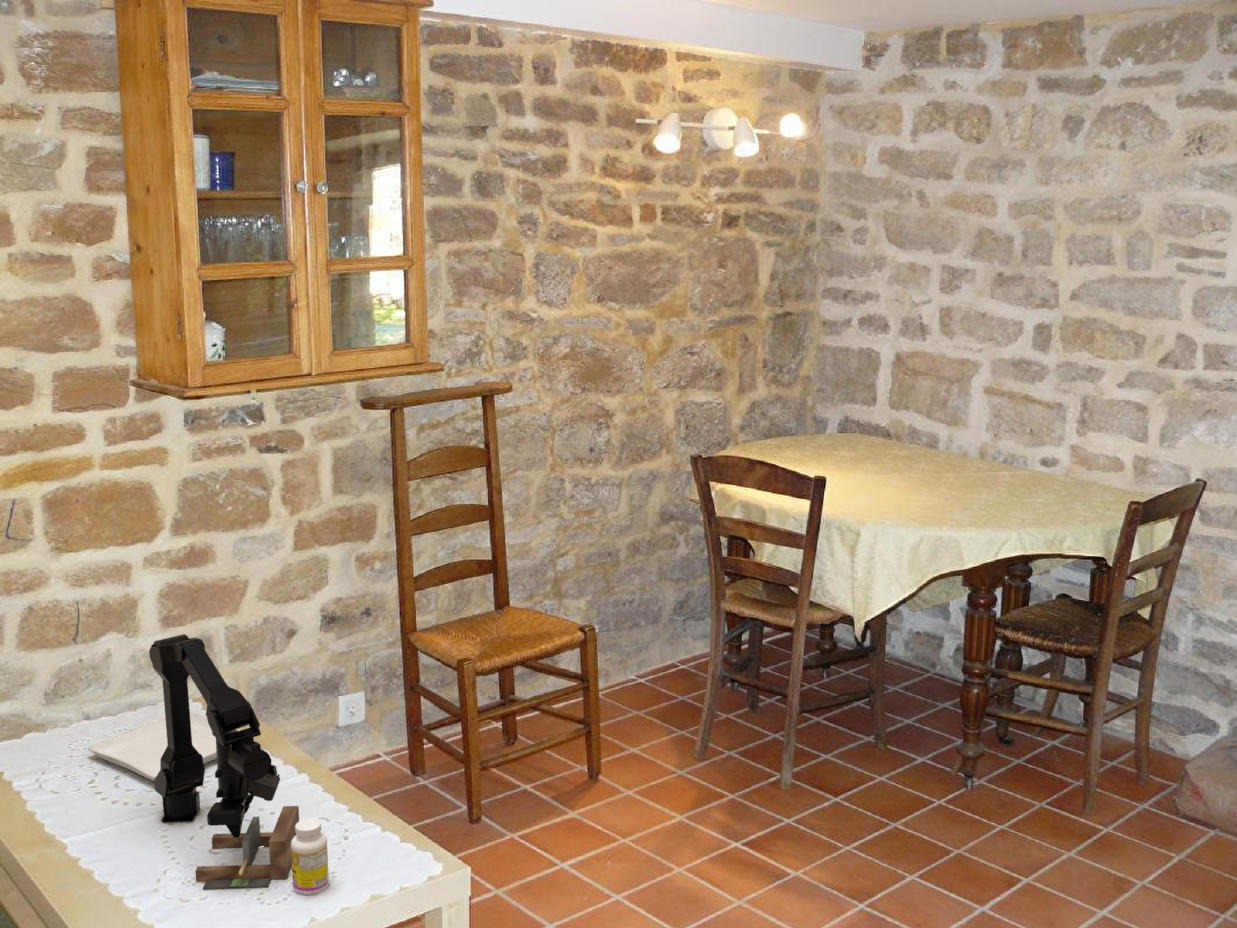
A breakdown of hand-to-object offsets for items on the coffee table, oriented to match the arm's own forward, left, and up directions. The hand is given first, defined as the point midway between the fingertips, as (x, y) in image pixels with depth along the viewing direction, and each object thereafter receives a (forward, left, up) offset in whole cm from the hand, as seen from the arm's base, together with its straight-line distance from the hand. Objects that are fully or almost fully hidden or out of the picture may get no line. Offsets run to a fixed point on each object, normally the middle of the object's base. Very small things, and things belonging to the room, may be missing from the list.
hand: (236, 836), depth 241 cm
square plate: (-26, +51, -6) cm, 58 cm away
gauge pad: (+3, -3, -4) cm, 6 cm away
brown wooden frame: (+2, -2, -5) cm, 6 cm away
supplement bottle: (+16, -10, -6) cm, 20 cm away
